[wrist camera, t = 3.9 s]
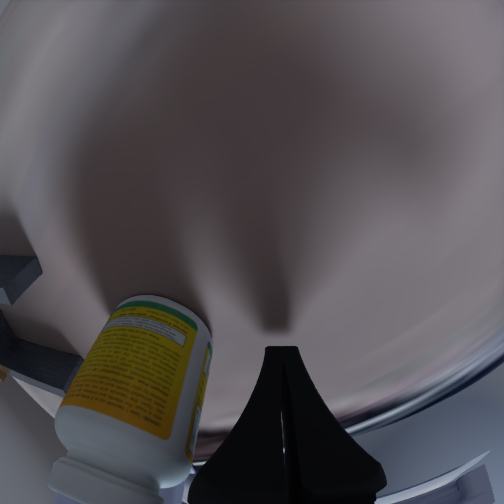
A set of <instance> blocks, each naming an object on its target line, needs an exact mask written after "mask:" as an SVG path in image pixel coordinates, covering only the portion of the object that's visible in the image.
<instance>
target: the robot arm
mask: <svg viewBox="0 0 504 504" xmlns="http://www.w3.org/2000/svg"><path fill="white" fill-rule="evenodd" d="M281 413H282V422H283V431H284V442H285V468H284V454H283V439H282V422H281ZM190 473H192V474H194V473H195V469H194V468H193V466H191V470H190ZM184 485H185V480H184V481H183V482H182V483H180V484H178V485H176V486H173V487H170V488H160V491H159V496H161V497H162V498H163V499H164V504H181V503H182V497H183V491H184ZM386 485H387V480H386V476H385V473H384V470H383V468H382V466H381V464H380V463H379V462H378V461H376V460H375V459H374V458H373V457H372V456H370V455H369V454H368V453H367V452H366V451H365V450H364V449H363V448H362V447H361V446H360V445H358V444H357V443H356V441H355V440H354V439H353V438H352V437H351V436H350V435H349V434H348V433H347V432H346V431H345V429H344V428H343V427H342V426H341V425H340V423H339V422H338V421H337V420H336V418H335V417H334V416H333V414H332V413H331V412H330V410H329V409H328V407H327V406H326V404H325V403H324V401H323V399H322V398H321V396H320V395H319V393H318V391H317V389H316V388H315V386H314V384H313V382H312V380H311V378H310V376H309V374H308V372H307V370H306V368H305V365H304V363H303V360H302V358H301V355H300V352H299V349H298V347H297V346H267V347H266V348H265V356H264V361H263V365H262V368H261V372H260V375H259V377H258V380H257V383H256V386H255V388H254V390H253V392H252V395H251V397H250V399H249V401H248V403H247V405H246V407H245V409H244V411H243V413H242V414H241V416H240V418H239V420H238V421H237V423H236V424H235V426H234V427H233V429H232V430H231V432H230V433H229V435H228V436H227V438H226V439H225V440H224V442H223V443H222V444H221V445H220V447H219V448H218V449H217V450H216V452H215V453H214V454H213V455H212V456H211V457H210V459H209V460H208V461H207V462H206V463H205V464H204V465H203V466H202V467H201V468H200V469H199V470H198V472H197V474H196V476H195V478H194V479H193V481H192V483H191V486H190V488H189V492H188V499H187V502H188V503H189V504H374V501H376V493H377V492H378V491H380V490H382V489H383V488H384V487H385V486H386ZM494 502H495V499H494V495H493V491H492V487H491V484H490V480H489V477H488V473H487V470H486V467H485V465H482V466H480V467H478V468H476V469H474V470H472V471H470V472H468V473H466V474H465V475H463V476H461V477H460V478H458V479H457V480H456V481H453V482H451V483H449V484H447V485H444V486H442V487H439V488H437V489H434V490H432V491H429V492H427V493H424V494H421V495H418V496H415V497H412V498H409V499H406V500H403V501H400V502H396V503H393V504H493V503H494ZM53 504H81V503H79V502H77V501H75V500H73V499H70V498H68V497H66V496H64V495H62V494H60V493H58V492H56V495H55V498H54V501H53Z"/></svg>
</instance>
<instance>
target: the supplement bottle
mask: <svg viewBox="0 0 504 504" xmlns="http://www.w3.org/2000/svg"><path fill="white" fill-rule="evenodd" d="M212 352H213V342H212V338H211V335H210V333H209V331H208V329H207V327H206V325H205V324H204V323H203V322H202V320H201V319H200V318H199V317H198V316H197V315H196V314H194V313H193V312H192V311H191V310H189V309H188V308H186V307H184V306H182V305H180V304H178V303H176V302H174V301H172V300H170V299H167V298H164V297H160V296H155V295H139V296H134V297H131V298H129V299H126V300H124V301H123V302H121V303H120V304H119V305H118V306H117V308H116V309H115V310H114V312H113V313H112V315H111V316H110V318H109V319H108V321H107V323H106V324H105V326H104V327H103V329H102V331H101V332H100V334H99V335H98V337H97V339H96V341H95V343H94V344H93V346H92V348H91V349H90V351H89V353H88V354H87V356H86V358H85V360H84V362H83V363H82V365H81V367H80V369H79V370H78V372H77V374H76V376H75V378H74V380H73V382H72V383H71V385H70V387H69V389H68V391H67V393H66V395H65V397H64V399H63V401H62V403H61V405H60V406H59V408H58V411H57V413H56V416H55V430H56V433H57V435H58V437H59V439H60V441H61V443H62V444H63V445H64V446H65V448H66V449H67V450H68V454H67V456H66V458H64V457H62V458H59V460H58V461H56V462H54V464H53V469H52V472H51V475H50V478H49V481H48V487H49V488H50V489H51V490H53V491H55V492H58V493H60V494H62V495H64V496H66V497H68V498H70V499H73V500H75V501H77V502H79V503H81V504H164V499H163V498H162V497H161V496H159V491H160V488H170V487H173V486H176V485H178V484H180V483H182V482H183V481H184V480H185V479H186V478H187V477H188V475H189V473H190V470H191V466H192V461H193V456H194V450H195V445H196V439H197V433H198V428H199V422H200V417H201V411H202V406H203V401H204V395H205V390H206V385H207V381H208V375H209V369H210V364H211V358H212Z"/></svg>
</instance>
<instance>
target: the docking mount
mask: <svg viewBox="0 0 504 504" xmlns="http://www.w3.org/2000/svg"><path fill="white" fill-rule="evenodd" d="M41 274H42V270H41V268H40V265H39V262H38V259H37V257H27V256H0V303H2V304H6V305H12V304H13V303H14V302H15V301H16V300H17V299H18V298H19V297H20V296H21V295H22V293H23V292H24V291H25V290H26V289H27V288H28V287H29V286H30V285H31V284H32V283H33V282H34V281H35V280H36V279H37V278H38V277H39V276H40V275H41ZM83 362H84V361H83V359H82V358H81V357H80V356H76V355H72V354H68V353H64V352H60V351H56V350H53V349H49V348H46V347H42V346H39V345H36V344H32V343H29V342H26V341H23V340H20V339H17V338H15V337H14V335H13V333H12V331H11V330H10V328H9V326H8V324H7V322H6V321H5V319H4V317H3V315H2V313H1V311H0V381H1V382H4V380H5V379H6V377H7V374H9V375H11V376H13V377H15V378H18V379H20V380H22V381H24V382H26V383H29V384H31V385H33V386H36V387H38V388H41V389H43V390H46V391H48V392H51V393H53V394H56V395H59V396H62V397H65V395H66V393H67V391H68V389H69V387H70V385H71V383H72V382H73V380H74V378H75V376H76V374H77V372H78V370H79V369H80V367H81V365H82V363H83ZM6 373H7V374H6Z"/></svg>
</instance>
